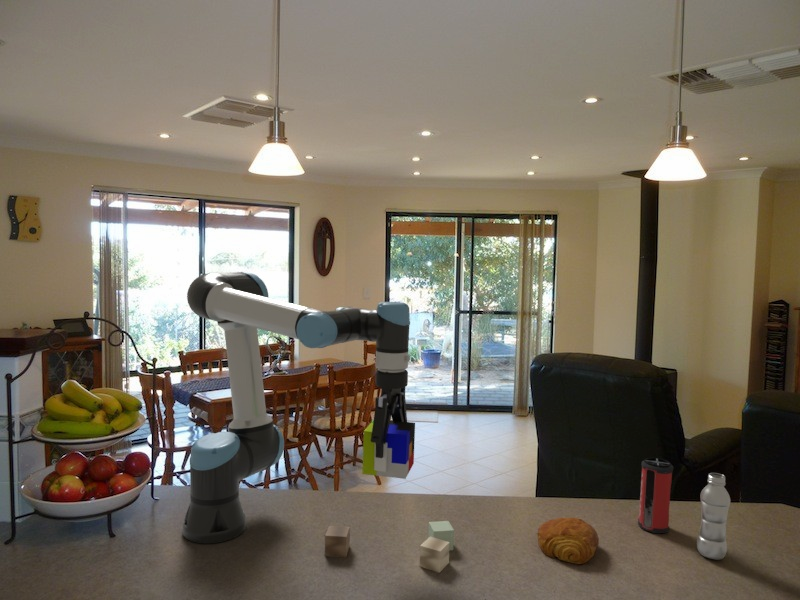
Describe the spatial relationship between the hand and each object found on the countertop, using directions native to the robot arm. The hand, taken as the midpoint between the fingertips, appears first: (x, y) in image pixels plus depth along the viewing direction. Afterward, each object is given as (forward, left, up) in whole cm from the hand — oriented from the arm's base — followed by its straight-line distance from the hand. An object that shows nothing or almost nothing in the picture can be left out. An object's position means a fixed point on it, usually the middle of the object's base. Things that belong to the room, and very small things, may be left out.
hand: (389, 462), depth 137 cm
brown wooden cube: (-11, -4, -22) cm, 25 cm away
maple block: (+12, -1, -22) cm, 25 cm away
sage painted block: (+11, +8, -22) cm, 26 cm away
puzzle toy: (0, 0, -2) cm, 2 cm away
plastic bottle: (+73, +28, -22) cm, 81 cm away
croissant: (+40, +19, -22) cm, 49 cm away
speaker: (+61, +39, -22) cm, 76 cm away
